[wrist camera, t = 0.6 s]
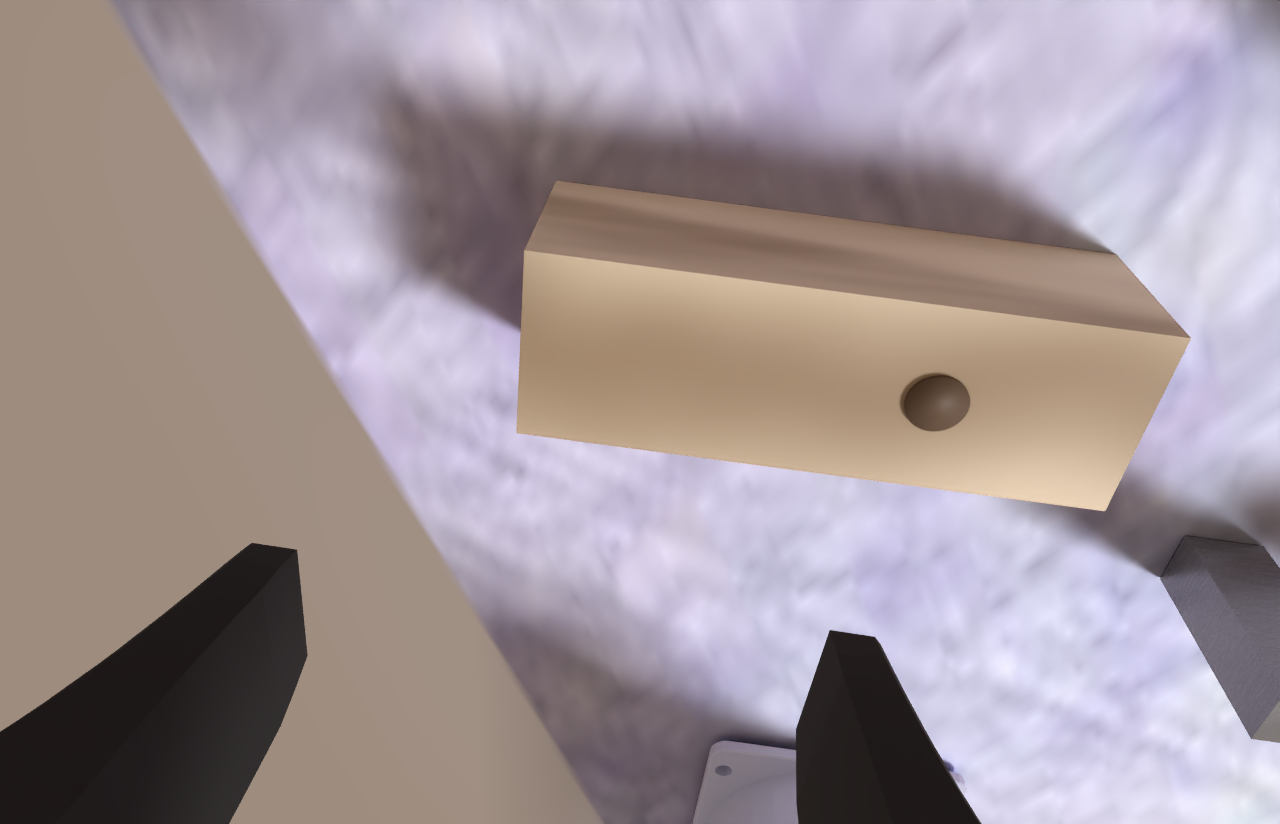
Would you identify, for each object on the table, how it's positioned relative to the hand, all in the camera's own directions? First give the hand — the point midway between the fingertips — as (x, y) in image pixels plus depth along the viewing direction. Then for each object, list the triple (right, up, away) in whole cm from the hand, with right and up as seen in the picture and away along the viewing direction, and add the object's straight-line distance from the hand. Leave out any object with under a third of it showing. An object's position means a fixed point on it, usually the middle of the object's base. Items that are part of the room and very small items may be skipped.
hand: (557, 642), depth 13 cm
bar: (+5, +6, +8) cm, 11 cm away
